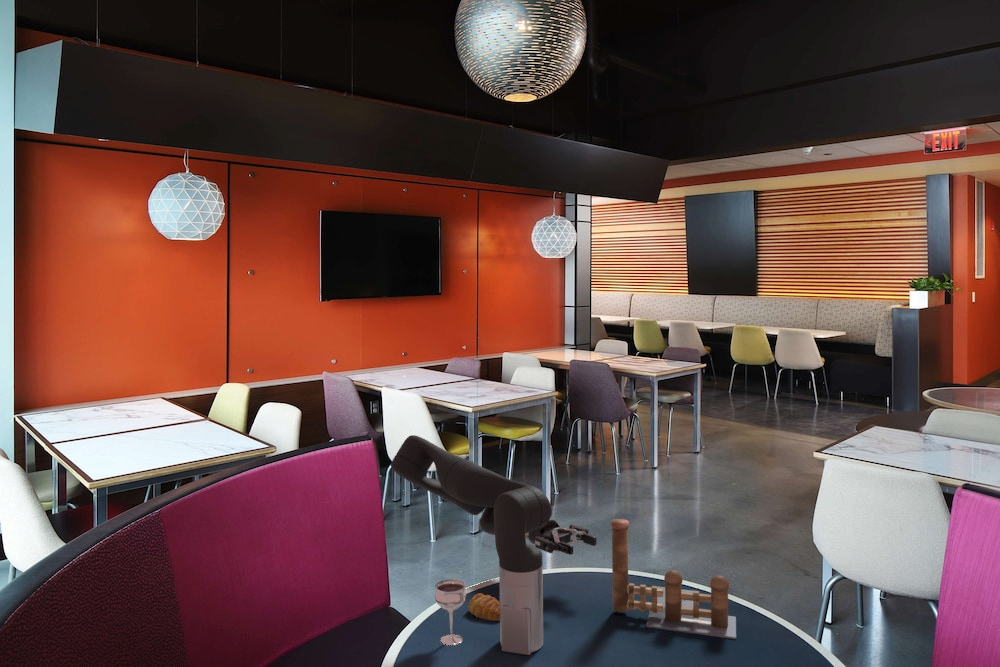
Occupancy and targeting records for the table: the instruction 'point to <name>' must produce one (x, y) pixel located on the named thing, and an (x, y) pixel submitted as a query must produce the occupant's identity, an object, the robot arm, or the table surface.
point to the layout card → (690, 622)
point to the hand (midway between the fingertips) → (584, 546)
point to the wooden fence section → (621, 576)
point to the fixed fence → (696, 600)
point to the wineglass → (450, 604)
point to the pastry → (485, 607)
